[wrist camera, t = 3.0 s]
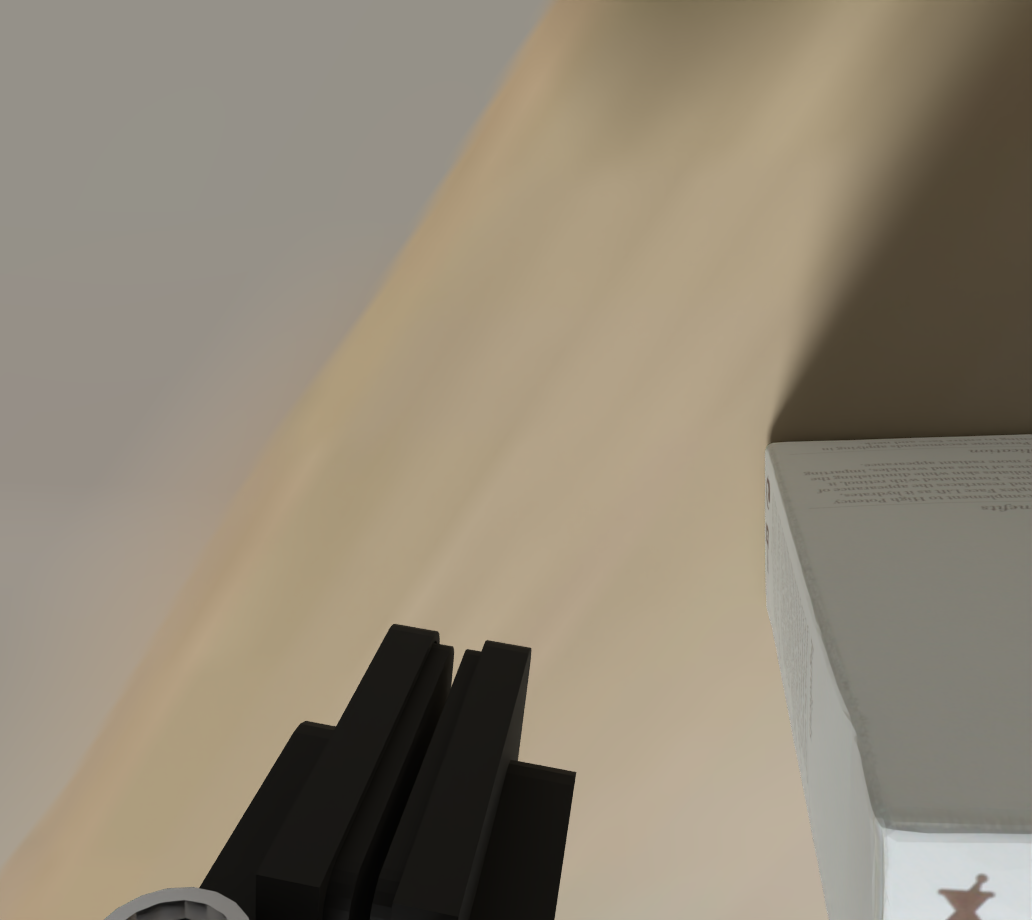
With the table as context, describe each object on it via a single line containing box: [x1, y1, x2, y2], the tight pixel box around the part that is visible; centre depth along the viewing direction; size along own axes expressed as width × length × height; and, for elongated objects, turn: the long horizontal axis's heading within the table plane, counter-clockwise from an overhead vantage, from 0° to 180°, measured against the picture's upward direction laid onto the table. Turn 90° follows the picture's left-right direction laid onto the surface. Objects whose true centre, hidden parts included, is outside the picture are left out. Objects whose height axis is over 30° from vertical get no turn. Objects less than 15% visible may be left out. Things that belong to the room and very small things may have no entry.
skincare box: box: [765, 434, 1032, 920], centre depth 14 cm, size 6×4×12 cm
